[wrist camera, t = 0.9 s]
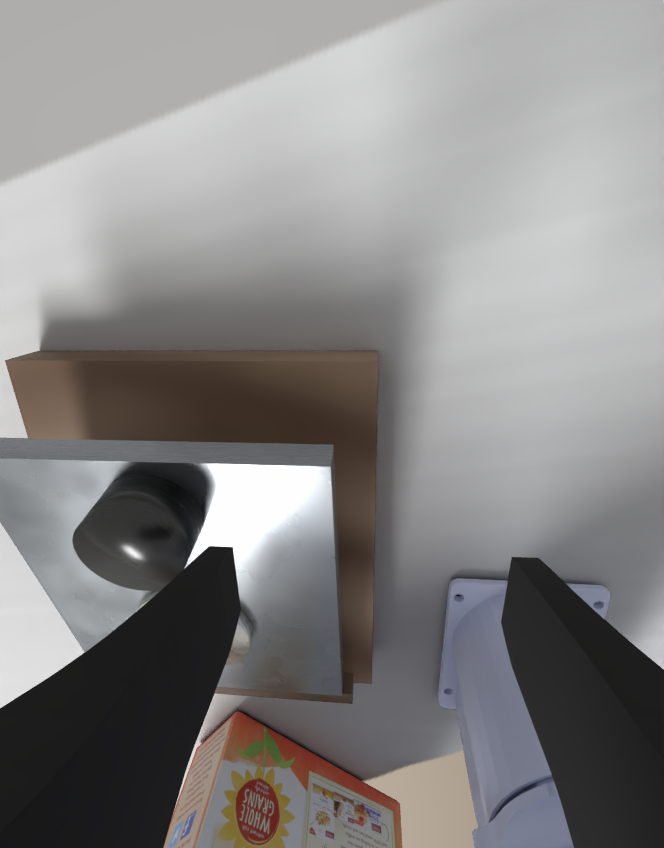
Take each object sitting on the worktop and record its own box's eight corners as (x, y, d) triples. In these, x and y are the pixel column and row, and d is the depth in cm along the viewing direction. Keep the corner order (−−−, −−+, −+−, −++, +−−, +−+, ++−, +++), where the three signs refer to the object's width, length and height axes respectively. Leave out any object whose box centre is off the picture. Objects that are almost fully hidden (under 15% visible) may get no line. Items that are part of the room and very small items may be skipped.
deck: (343, 671, 23) (339, 741, 20) (112, 655, 24) (80, 719, 21) (333, 444, 15) (324, 511, 12) (-16, 437, 16) (-94, 497, 13)
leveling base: (371, 652, 25) (371, 705, 22) (115, 636, 27) (83, 683, 24) (377, 351, 19) (378, 368, 16) (38, 351, 20) (-19, 367, 17)
